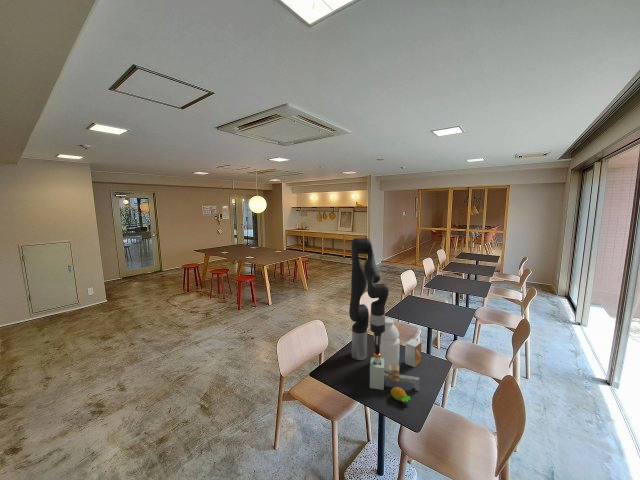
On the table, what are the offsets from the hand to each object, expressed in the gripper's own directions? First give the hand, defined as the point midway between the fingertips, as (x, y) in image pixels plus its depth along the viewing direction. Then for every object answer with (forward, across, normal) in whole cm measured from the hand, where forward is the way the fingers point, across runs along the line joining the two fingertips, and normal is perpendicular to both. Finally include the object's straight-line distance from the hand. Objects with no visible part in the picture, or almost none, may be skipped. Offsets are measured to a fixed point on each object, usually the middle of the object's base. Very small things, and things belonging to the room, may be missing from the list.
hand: (377, 353), depth 140 cm
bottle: (+17, -18, +5) cm, 25 cm away
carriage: (+13, 0, +9) cm, 15 cm away
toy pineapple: (+17, +10, +12) cm, 23 cm away
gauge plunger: (+9, 0, 0) cm, 9 cm away
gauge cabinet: (+17, 0, 0) cm, 17 cm away
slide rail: (+17, 0, +12) cm, 21 cm away
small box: (+17, -24, +20) cm, 36 cm away
